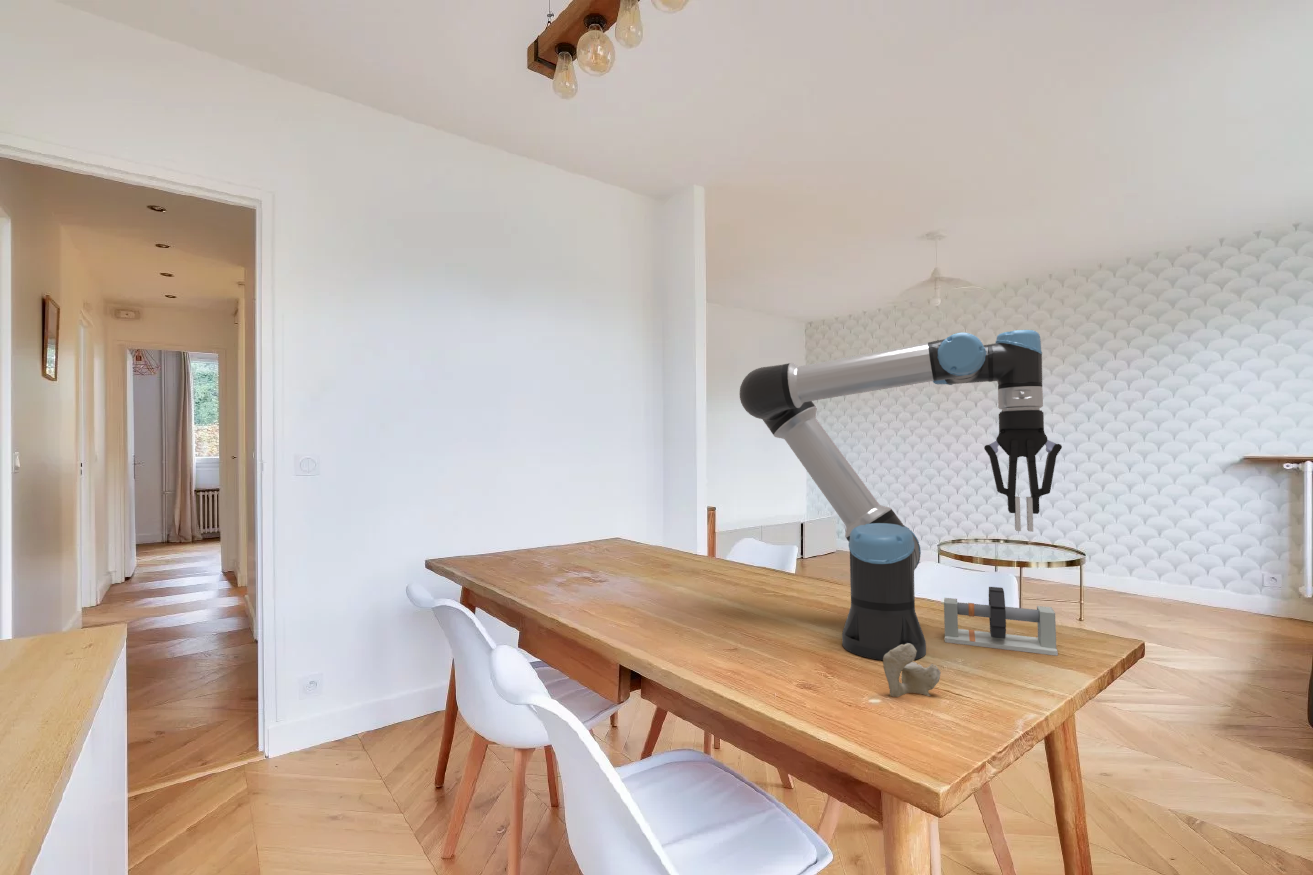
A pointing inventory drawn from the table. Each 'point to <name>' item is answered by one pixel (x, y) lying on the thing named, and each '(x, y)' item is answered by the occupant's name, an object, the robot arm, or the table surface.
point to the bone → (908, 672)
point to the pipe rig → (1011, 642)
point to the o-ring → (997, 612)
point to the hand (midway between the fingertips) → (1024, 530)
